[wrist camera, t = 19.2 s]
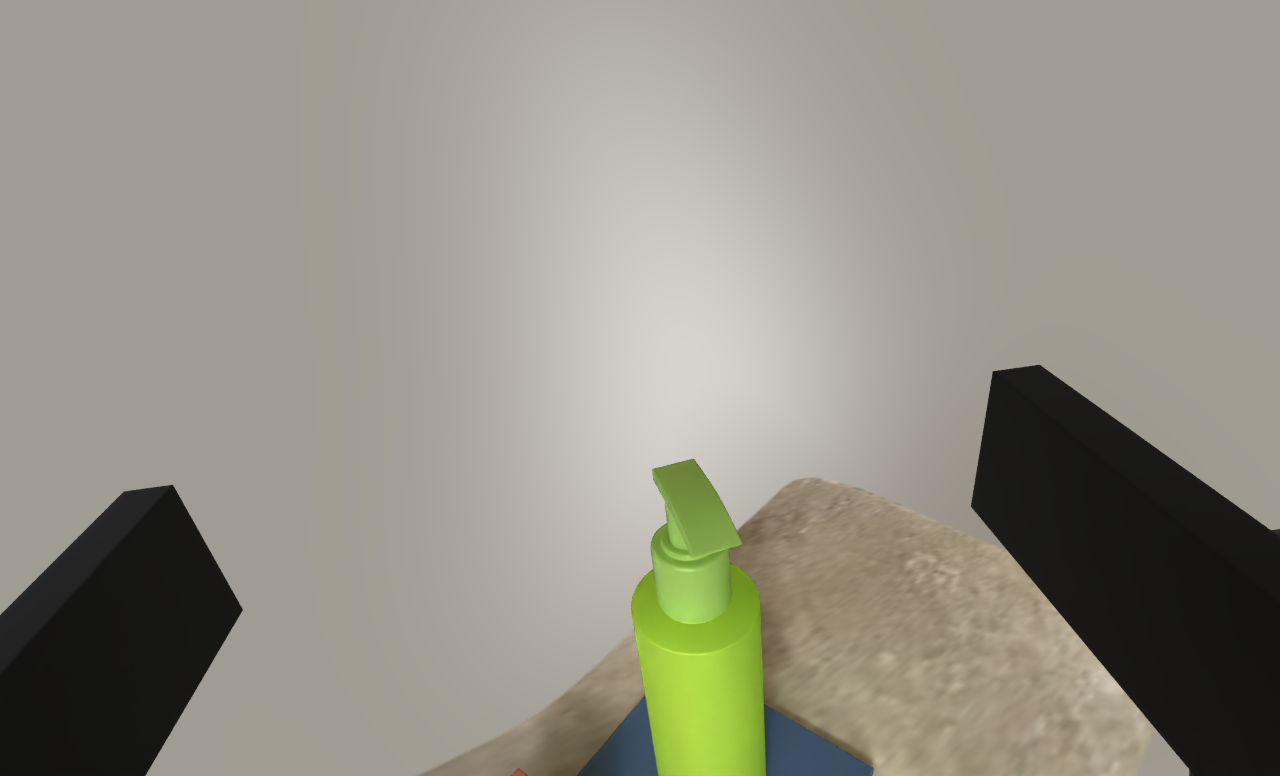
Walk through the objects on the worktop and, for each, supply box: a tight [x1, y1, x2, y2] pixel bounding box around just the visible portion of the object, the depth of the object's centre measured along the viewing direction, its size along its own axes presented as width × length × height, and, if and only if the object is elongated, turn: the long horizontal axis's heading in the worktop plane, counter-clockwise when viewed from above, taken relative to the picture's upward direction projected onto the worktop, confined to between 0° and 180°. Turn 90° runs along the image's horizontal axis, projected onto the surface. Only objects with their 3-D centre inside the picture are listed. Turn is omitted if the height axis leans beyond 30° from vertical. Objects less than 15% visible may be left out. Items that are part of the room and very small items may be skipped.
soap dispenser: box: [631, 459, 766, 776], centre depth 31 cm, size 6×7×20 cm
